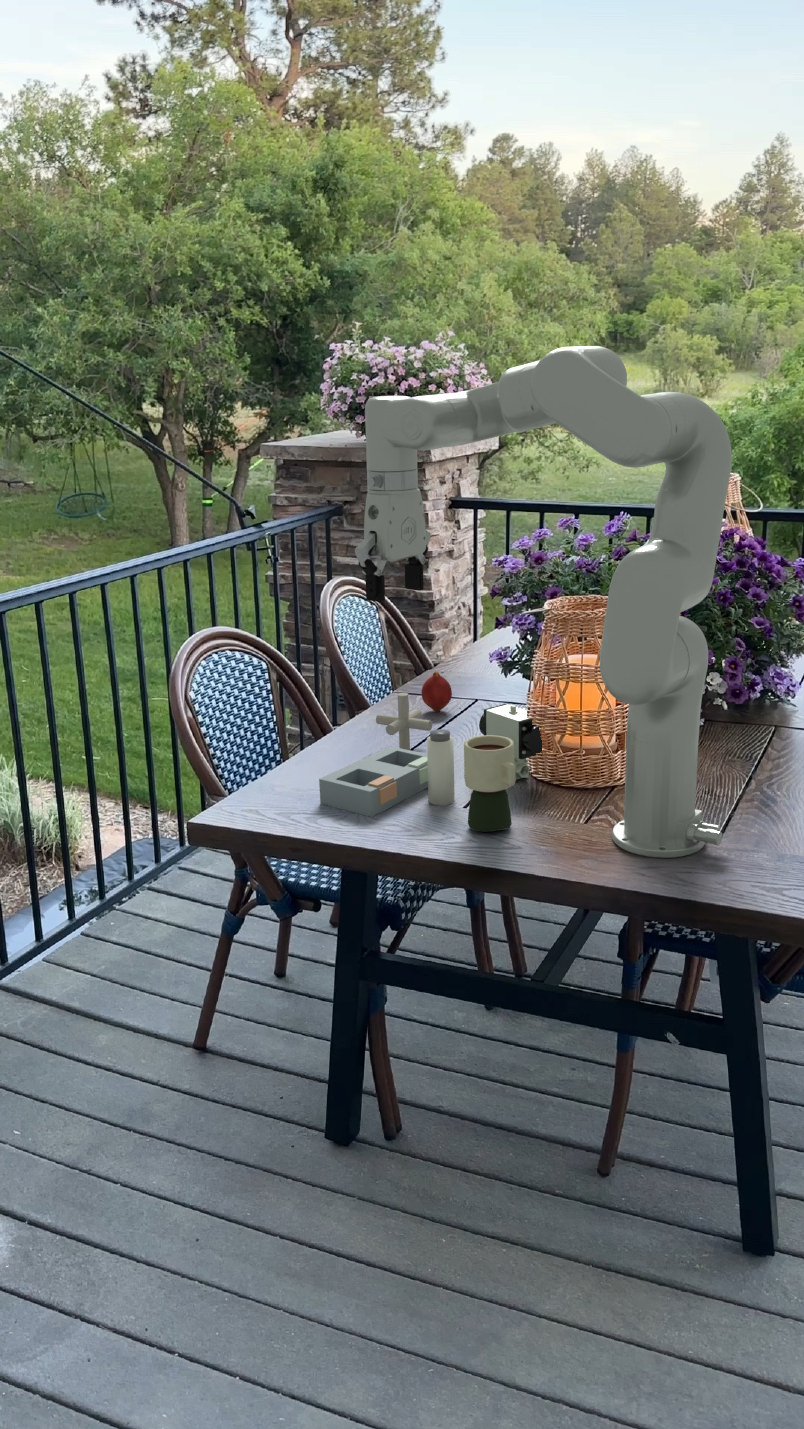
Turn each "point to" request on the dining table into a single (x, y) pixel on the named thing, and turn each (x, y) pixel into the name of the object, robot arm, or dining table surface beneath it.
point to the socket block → (376, 781)
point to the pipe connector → (404, 721)
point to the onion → (436, 692)
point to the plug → (440, 767)
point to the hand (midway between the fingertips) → (395, 595)
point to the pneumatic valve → (513, 733)
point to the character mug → (489, 781)
